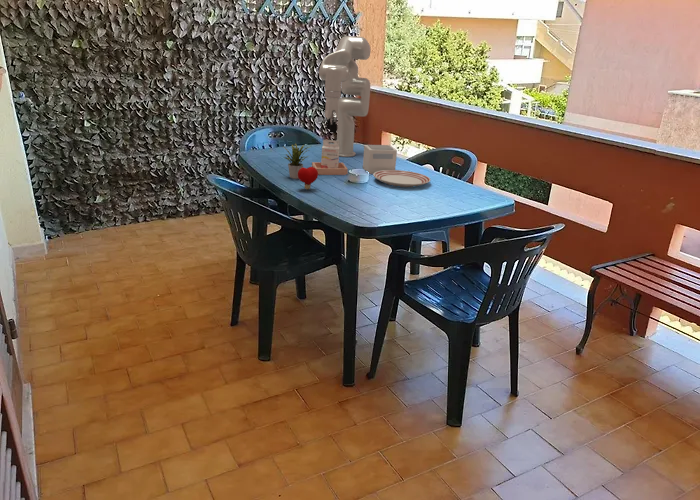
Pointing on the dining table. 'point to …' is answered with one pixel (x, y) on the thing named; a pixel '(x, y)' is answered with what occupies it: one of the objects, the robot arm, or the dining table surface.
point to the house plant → (295, 161)
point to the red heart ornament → (308, 176)
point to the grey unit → (379, 158)
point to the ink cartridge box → (330, 154)
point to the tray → (330, 169)
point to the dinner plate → (401, 178)
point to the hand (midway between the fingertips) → (331, 130)
